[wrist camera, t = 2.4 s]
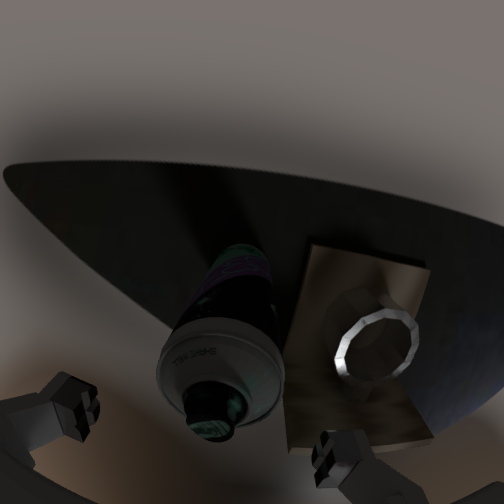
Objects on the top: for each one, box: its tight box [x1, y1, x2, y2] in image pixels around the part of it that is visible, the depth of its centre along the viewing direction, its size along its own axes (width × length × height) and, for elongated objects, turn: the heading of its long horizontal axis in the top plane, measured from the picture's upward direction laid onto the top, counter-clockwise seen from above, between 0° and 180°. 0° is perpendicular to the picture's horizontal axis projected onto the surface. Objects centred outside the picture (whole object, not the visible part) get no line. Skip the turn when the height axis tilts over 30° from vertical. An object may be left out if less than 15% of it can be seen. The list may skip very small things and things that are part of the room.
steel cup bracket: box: [321, 285, 419, 403], centre depth 25 cm, size 8×10×6 cm
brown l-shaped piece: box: [282, 243, 434, 455], centre depth 22 cm, size 14×14×13 cm
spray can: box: [156, 244, 285, 442], centre depth 18 cm, size 6×6×20 cm
